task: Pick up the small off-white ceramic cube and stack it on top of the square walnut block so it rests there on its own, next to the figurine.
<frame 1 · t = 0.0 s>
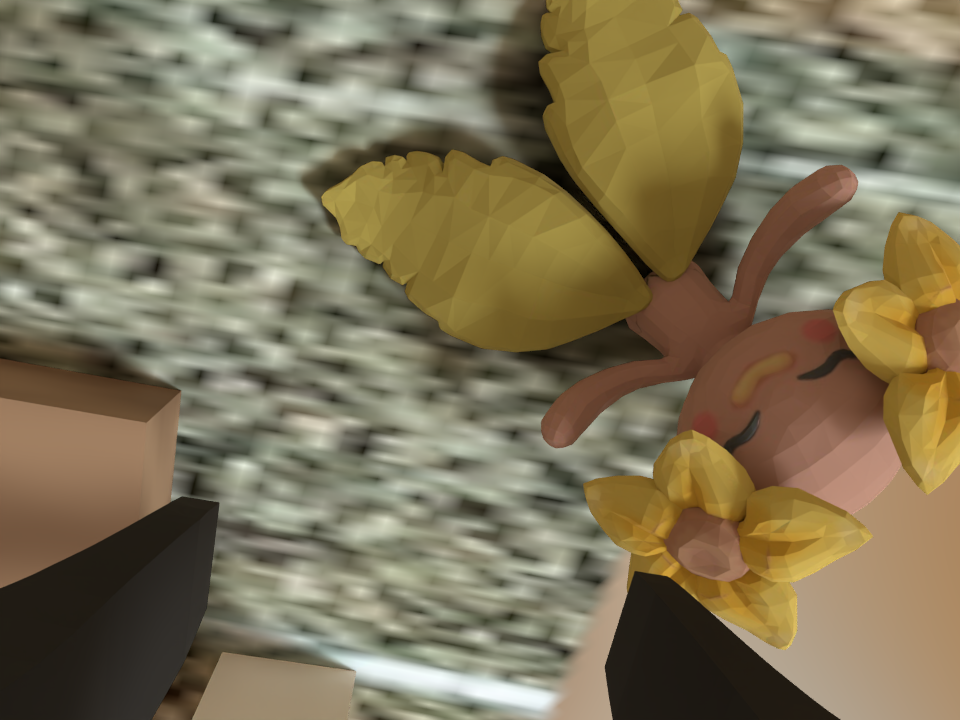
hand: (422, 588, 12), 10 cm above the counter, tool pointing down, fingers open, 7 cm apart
ceramic cube: (281, 713, 25), on the counter
walnut block: (29, 491, 23), on the counter
figurine: (630, 263, 21), on the counter
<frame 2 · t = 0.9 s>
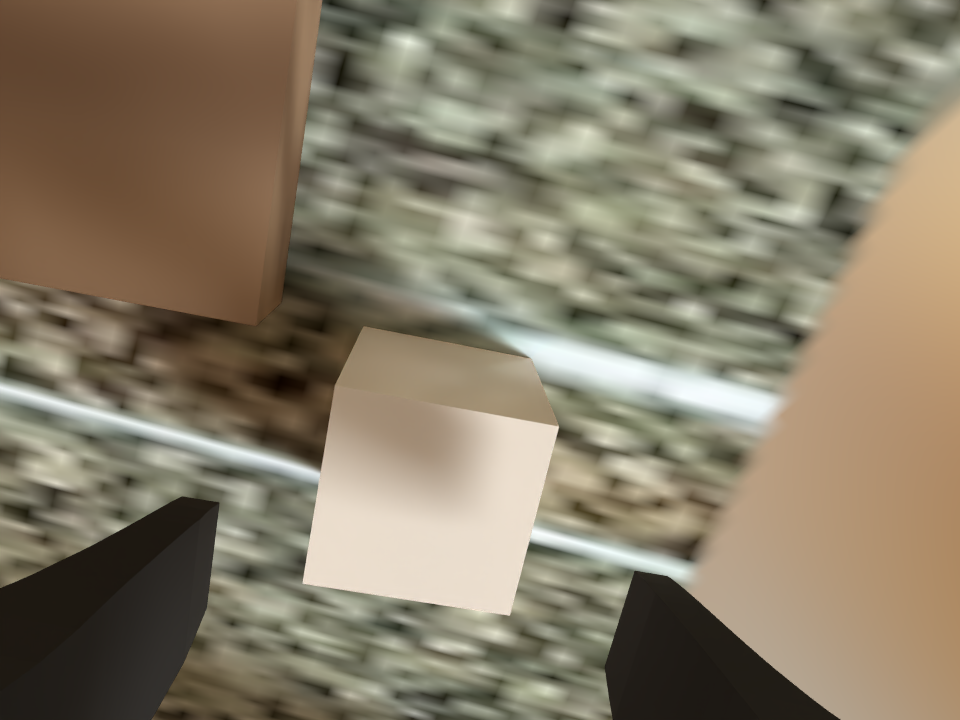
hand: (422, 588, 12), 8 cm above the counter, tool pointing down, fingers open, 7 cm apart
ceramic cube: (432, 420, 20), on the counter
walnut block: (123, 85, 17), on the counter
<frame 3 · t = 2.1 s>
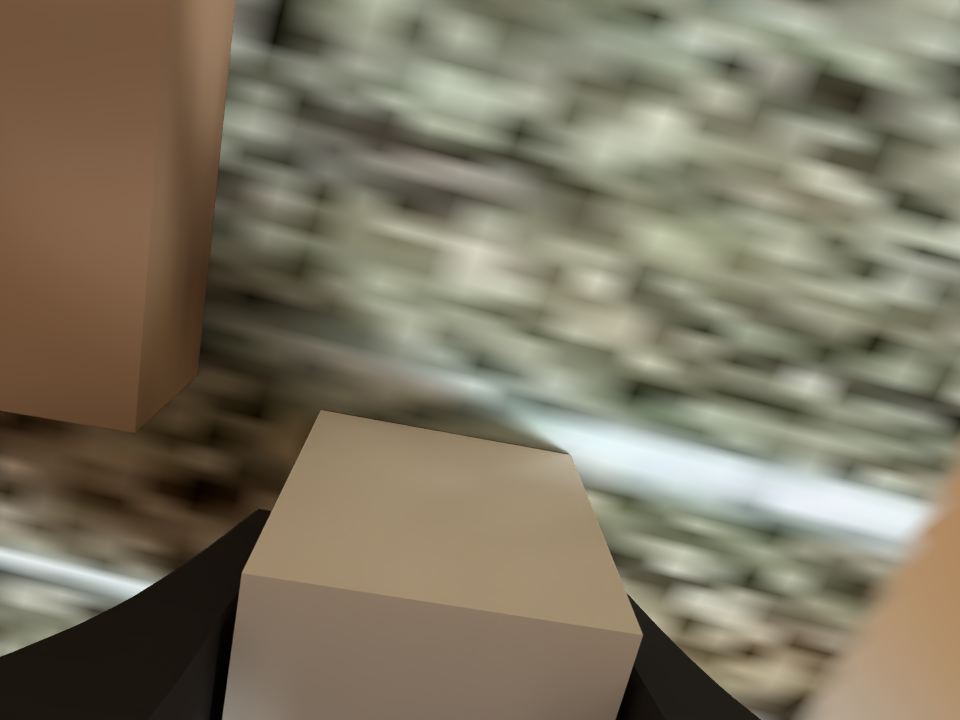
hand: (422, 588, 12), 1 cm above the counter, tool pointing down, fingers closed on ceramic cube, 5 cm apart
ceramic cube: (424, 543, 13), on the counter, touching gripper
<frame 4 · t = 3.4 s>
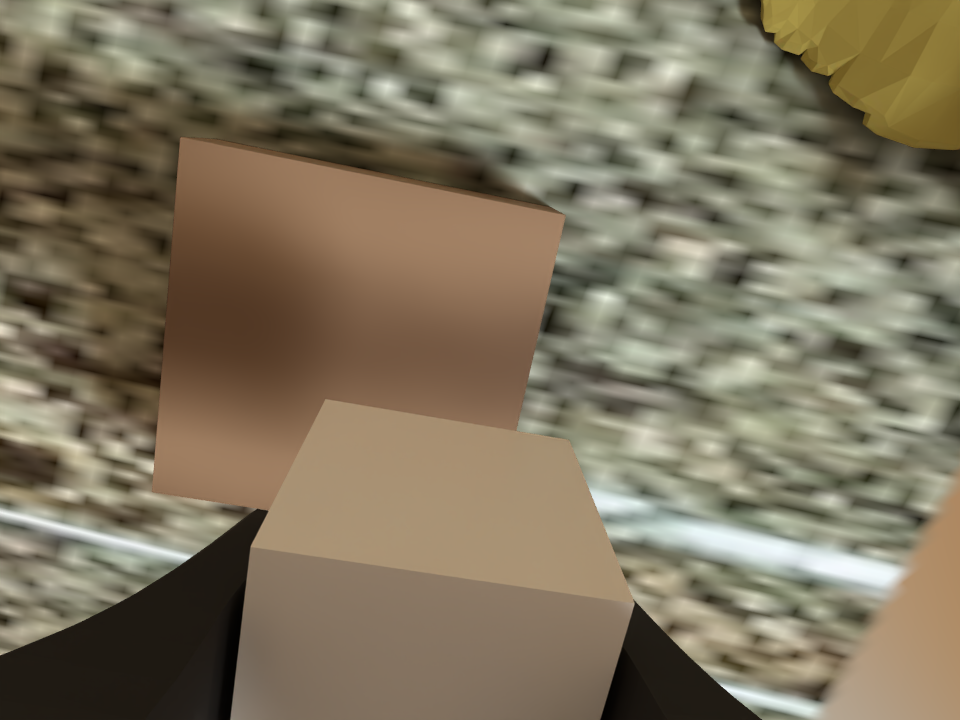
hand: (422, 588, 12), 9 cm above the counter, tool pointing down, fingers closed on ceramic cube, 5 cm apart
ceramic cube: (428, 528, 14), point 7 cm above the counter, touching gripper
walnut block: (363, 330, 20), on the counter
when the fingers open (5 cm above the counter, at t = 4.7 s): ceramic cube drops 1 cm, resting on walnut block.
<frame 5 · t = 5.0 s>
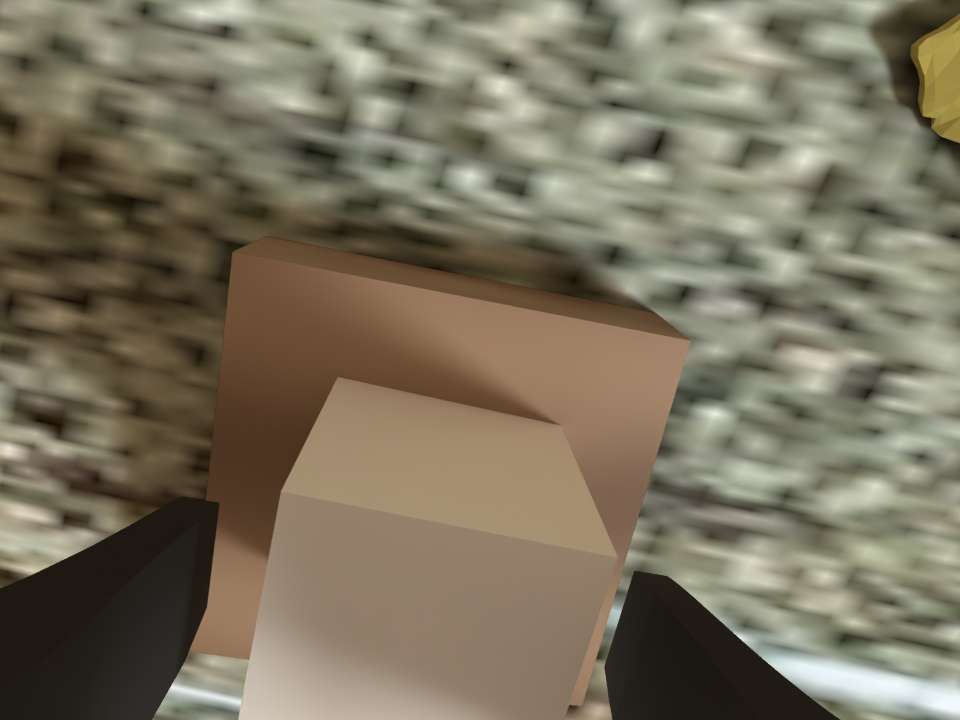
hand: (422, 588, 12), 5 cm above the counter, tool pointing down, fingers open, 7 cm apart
ceramic cube: (426, 502, 15), point 2 cm above the counter, touching walnut block
walnut block: (430, 446, 18), on the counter, touching ceramic cube
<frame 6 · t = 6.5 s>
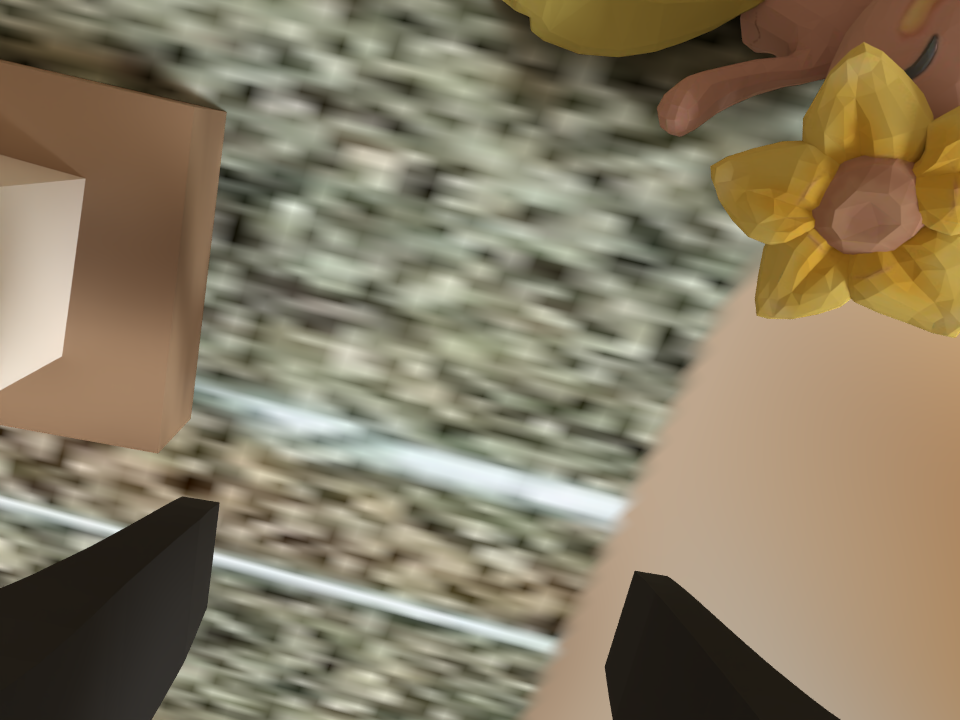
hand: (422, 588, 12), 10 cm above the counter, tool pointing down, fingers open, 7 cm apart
walnut block: (52, 238, 20), on the counter, touching ceramic cube
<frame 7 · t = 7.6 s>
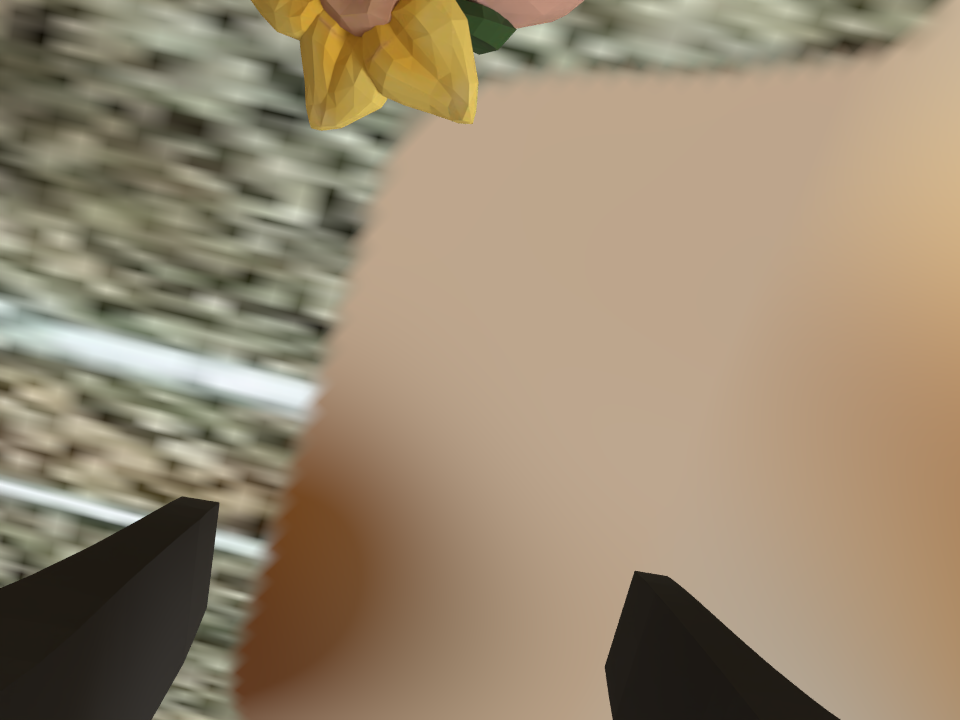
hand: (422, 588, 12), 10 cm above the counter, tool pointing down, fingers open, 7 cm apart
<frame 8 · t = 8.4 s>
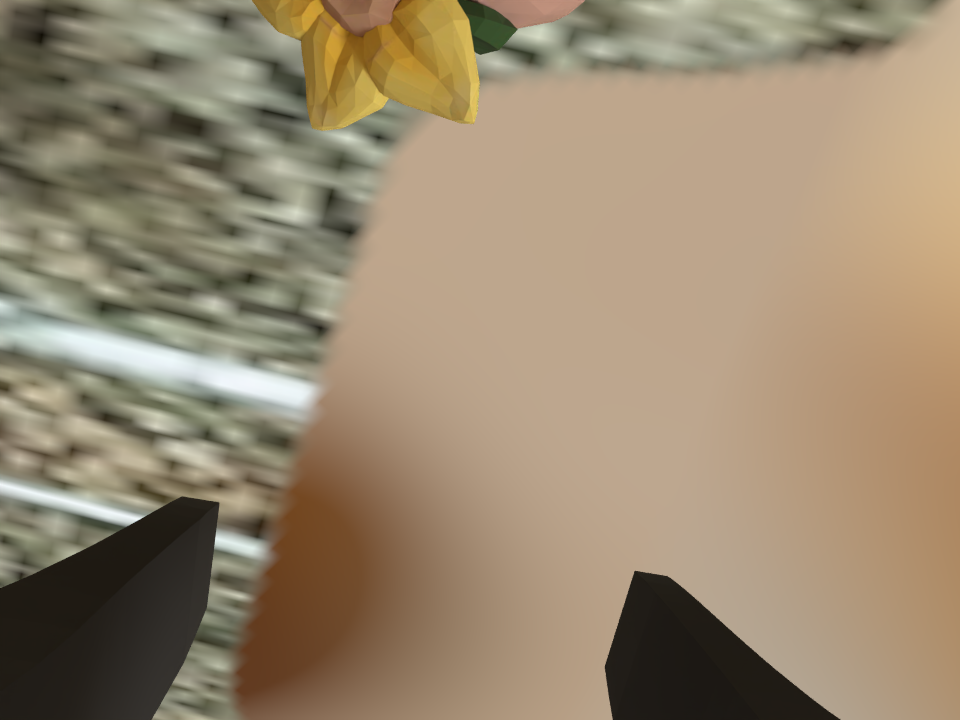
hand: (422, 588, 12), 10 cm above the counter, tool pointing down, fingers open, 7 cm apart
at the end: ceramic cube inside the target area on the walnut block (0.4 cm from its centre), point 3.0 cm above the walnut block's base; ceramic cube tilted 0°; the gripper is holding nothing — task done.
